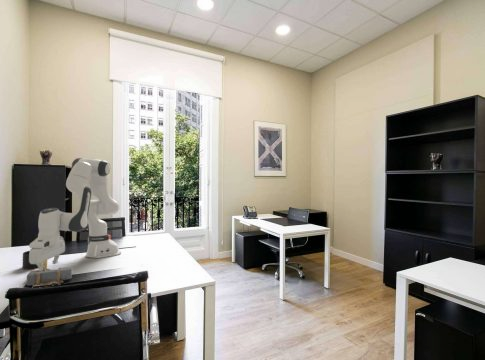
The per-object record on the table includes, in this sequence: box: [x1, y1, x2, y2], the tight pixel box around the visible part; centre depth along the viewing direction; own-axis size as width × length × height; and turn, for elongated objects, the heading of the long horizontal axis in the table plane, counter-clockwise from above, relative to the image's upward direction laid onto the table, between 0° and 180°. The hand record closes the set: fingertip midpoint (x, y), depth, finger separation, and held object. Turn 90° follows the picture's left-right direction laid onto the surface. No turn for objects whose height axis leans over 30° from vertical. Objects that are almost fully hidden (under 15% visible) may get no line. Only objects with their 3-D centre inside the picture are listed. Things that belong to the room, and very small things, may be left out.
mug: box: [22, 250, 38, 270], centre depth 151 cm, size 9×12×9 cm
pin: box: [42, 260, 48, 269], centre depth 144 cm, size 3×3×8 cm
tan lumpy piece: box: [29, 268, 50, 272], centre depth 132 cm, size 8×7×4 cm
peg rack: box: [32, 267, 64, 287], centre depth 128 cm, size 12×8×6 cm, turn 121°
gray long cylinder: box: [26, 267, 73, 286], centre depth 128 cm, size 18×5×5 cm, turn 121°
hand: (48, 266), depth 128 cm, fingers open, 8 cm apart
